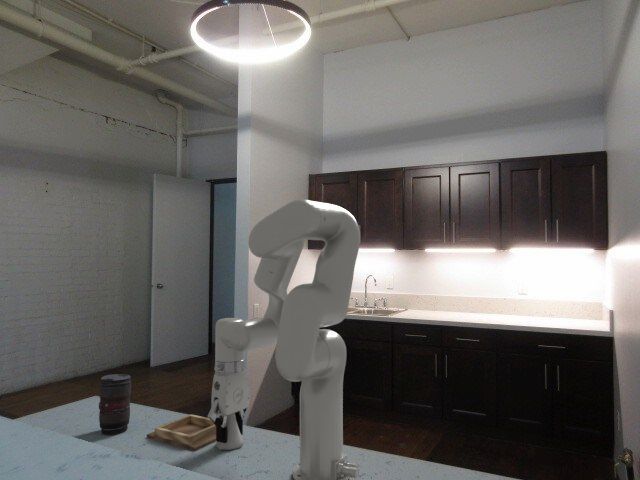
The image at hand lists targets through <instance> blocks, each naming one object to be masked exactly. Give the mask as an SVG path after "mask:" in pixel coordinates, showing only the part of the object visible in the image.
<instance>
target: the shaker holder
mask: <svg viewBox="0 0 640 480" xmlns="http://www.w3.org/2000/svg"><path fill="white" fill-rule="evenodd" d="M146 438H147V439H149V440H153V441H157V442H161V443H164V444H168V445H172V446H175V447H180V448H181V449H182V448H183V449H187V450H190V451H195V452H197V451H198V450H200V449H204V448H205V447H208V446H209V445H211V444H213V443H216V442H217V441H216V426H215V425H214V423H213V422H212V421H211V420H210V419H209V418H208V417H205V416H200V415H196V414H192V413H191V414H188V415H185V416H182V417H180V418H178V419H174V420H172V421H170V422H167V423H164V424H162V425H159V426H156V427H154V431H152V432H150V433H147V434H146Z"/></svg>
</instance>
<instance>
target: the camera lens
mask: <svg viewBox="0 0 640 480" xmlns="http://www.w3.org/2000/svg"><path fill="white" fill-rule="evenodd" d="M131 393H132V380H131V375H129V374H125V373H118V374H117V373H115V374H108V375H104V376H102V377H101V378H100V382H99V402H98V410H99V414H98V421H99V428H100V429H101V434H102V435H105V436H113V435H119V434H122V433H124V432H126V431H127V430H128V425H129V424H130V418H131Z"/></svg>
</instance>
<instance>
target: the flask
mask: <svg viewBox="0 0 640 480" xmlns="http://www.w3.org/2000/svg"><path fill="white" fill-rule="evenodd" d="M225 426H227V443H221V442H217V441H215V445H214V446H215V447H216V448H218V450H221V451H222V450H225V451H226V450H228V451H231V450H236V449H240V448H242V447H243V445H244V443H245V442H244V439H243V437H242V435H241V433H240V431H239V428H238V424H237V421H236V416H235V413H234V414H231V415H229V416H227V420H226V425H225Z"/></svg>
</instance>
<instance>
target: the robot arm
mask: <svg viewBox="0 0 640 480" xmlns="http://www.w3.org/2000/svg"><path fill="white" fill-rule="evenodd" d="M305 240H310V241H323V242H324V243H325V244H324V246H323V248H322V250H321V251H320V253H319V255H318V257H317V260H316V264H315V271H314V275H313V278H312V279H313V280H312V282H311V283H303V284H299V285H296V286H295V287H292V289H291V290H290V291H289V292H288V287H289V286H290V283H291V280H292V277H293V274H294V272H295V270H296V267H297V265H298V262H299V259H300V257H301V255H302V251H303V249H304V246H305ZM360 243H361V230H360V226H359V223H358V221H357V220H356V218H355V216H354V215H353V214H352V213H351V212H350V211H348V210H347V209H345V208H343V207H342V206H339V205H337V204H333V203H332V204H331V203H328V202H322V201H316V200H315V201H314V200H310V199H302V198H301V199H300V198H299V199H296V200H292V201H290V202H288V203H286V204H285V205H282V207H280V208H278V209H277V210H275V211H273V212H272V213H270V214H268V215H267V216H265V217H264V218H262V219H261V220H260V221H257V223H256V224H255V225H254V226H253V227H252V229H251V231H250V233H249V235H248V248H249V250H250V252H251V254H252V255H254V256H255V257H256V258H260V260H259V264H258V266H257V269H256V272H255V273H254V278H253V282H254V285H256V287H257V288H258V289H259V290H261V291H262V292H264V293H266V294H268V305H267V308H266V310H265V313H264V316H263V317H259V318H252V319H246V320H243V319H242V318H239V317H225V318H224V317H223V318H220V319H218V320H217V321H216V322H215V334H214V335H215V338H214V340H215V345H214V347H215V348H214V350H215V351H214V354H215V355H214V357H215V359H214V360H215V361H214V362H215V363H214V369H213V370H214V371H215V372H214V375H213V379H212V388H211V399H210V400H211V401H210V402H211V403H210V404H211V408H210V410H209V412H208V413H207V414H208V415H207V418H209V419H210V420H211V421H212V422H213V423H214V425H215V426H216V441H215V442H221V443H227V426H225V425H226V420H227V416H229V415H231V414H234V413H235V416H236V421H237V424H238V428H239V431H240V433H241V436H242V435H243V434H244V424H243V423H244V418H245V413H246V411H247V408H248V407H249V406H250V403H251V400H250V387H249V377H248V371H247V369H246V368H245V365H246V363H245V362H246V359H245V358H246V356H245V355H246V352H250V351H255V350H257V349H263V348H268V347H272V346H274V345H275V353H274V354H275V356H274V358H275V359H274V360H275V365H276V368H277V371H278V372H279V374H280V376H281V377H282V378H283V379H285V380H287V381H288V382H293V383H294V382H295V383H296V382H301V383H300V384H301V385H300V391H299V463H297V464H296V465H295V466H294V467H293V469H292V478H293V479H294V480H349V479H350V478H353V479H358V477H359V474H360V470H359V464H358V463H353V462H349V461H348V453H344V430H343V429H344V428H343V427H344V424H343V422H344V421H343V419H344V418H343V417H344V416H343V415H344V413H343V410H344V409H343V408H344V406H343V404H344V401H343V400H344V398H343V397H344V391H343V390H344V375H345V371H346V364H347V347H346V342H345V340H344V339H343V338H342V336H341V335H340V334H339V333H337V331H334V330H331V329H327V328H326V327H330V326H331V327H332V326H335V325H338V324H340V323H342V322H343V321H344V320H345V318H346V317H347V315H348V309H349V305H350V299H351V293H352V289H353V288H352V287H353V280H354V274H355V268H356V263H357V258H358V254H359V249H360ZM321 328H323V329H321Z"/></svg>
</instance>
